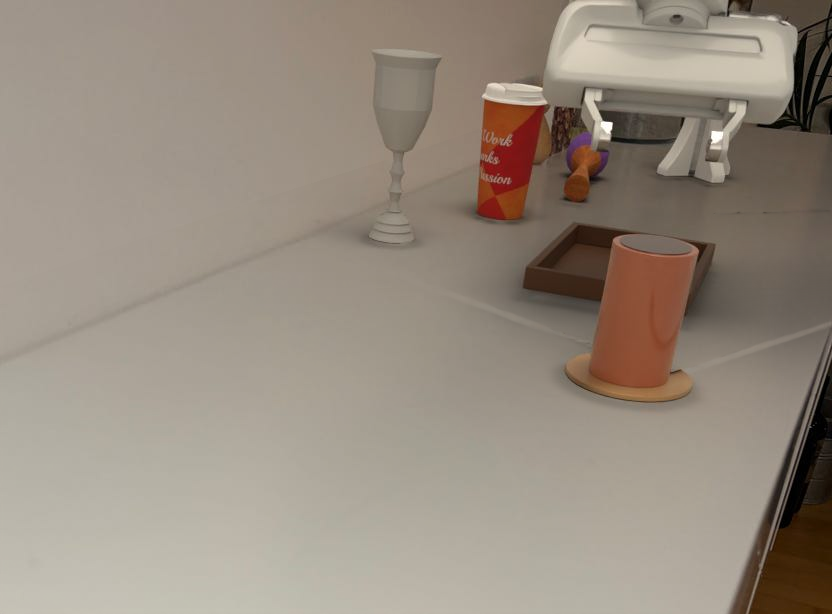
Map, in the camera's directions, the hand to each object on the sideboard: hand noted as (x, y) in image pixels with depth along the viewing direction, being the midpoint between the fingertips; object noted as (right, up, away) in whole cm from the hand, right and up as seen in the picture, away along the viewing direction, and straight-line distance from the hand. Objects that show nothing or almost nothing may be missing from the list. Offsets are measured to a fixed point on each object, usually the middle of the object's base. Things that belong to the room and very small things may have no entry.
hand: (657, 152), depth 89 cm
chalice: (-21, +4, +31) cm, 37 cm away
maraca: (+6, +22, +60) cm, 65 cm away
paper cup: (-7, +12, +43) cm, 46 cm away
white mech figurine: (+26, +30, +73) cm, 83 cm away
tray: (+3, -3, +22) cm, 22 cm away
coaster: (-3, -19, -2) cm, 19 cm away
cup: (-3, -19, -2) cm, 19 cm away
